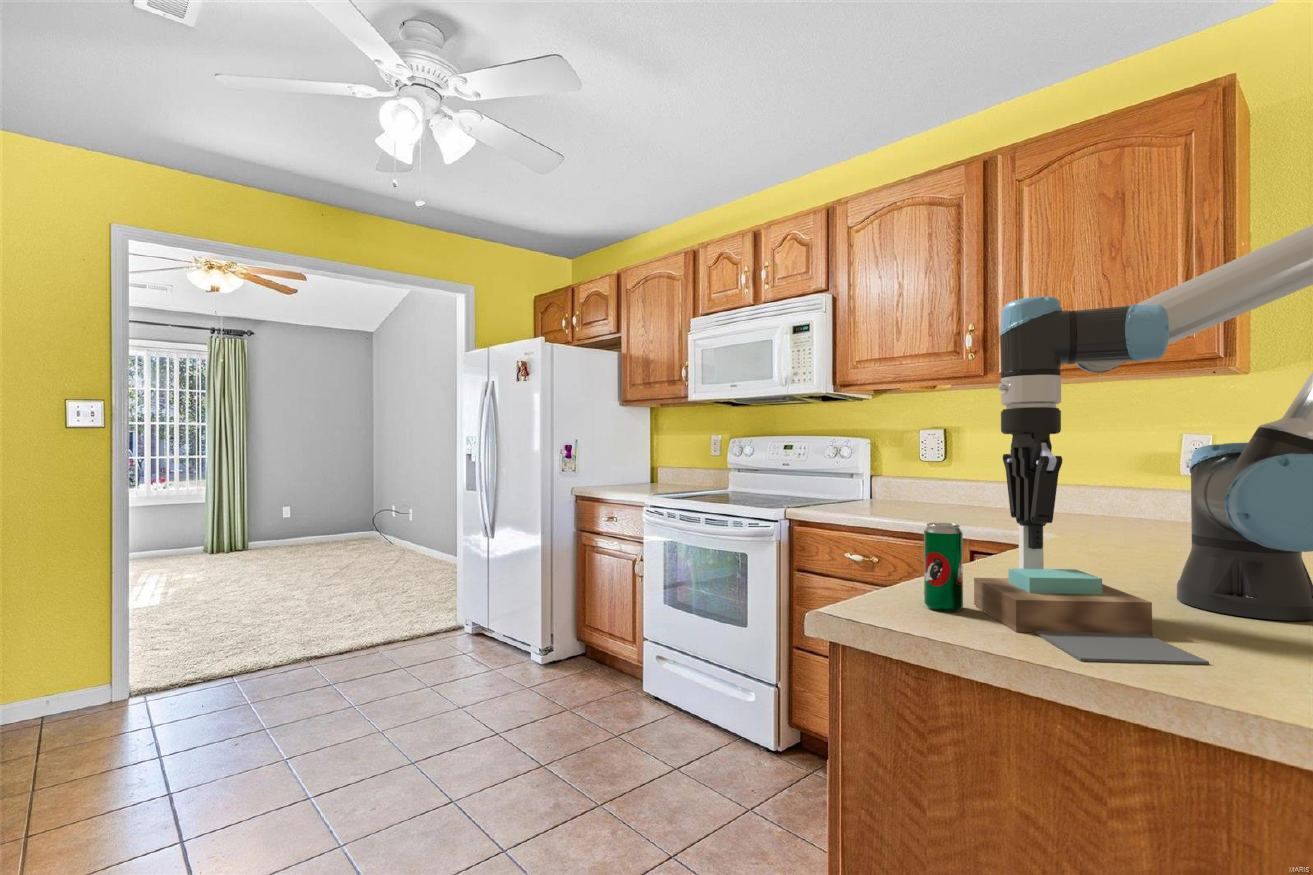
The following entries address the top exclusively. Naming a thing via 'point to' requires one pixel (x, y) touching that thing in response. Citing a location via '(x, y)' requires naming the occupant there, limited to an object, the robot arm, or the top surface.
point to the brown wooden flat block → (1063, 609)
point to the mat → (1118, 647)
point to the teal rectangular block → (1055, 581)
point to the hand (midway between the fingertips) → (1031, 570)
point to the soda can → (943, 567)
